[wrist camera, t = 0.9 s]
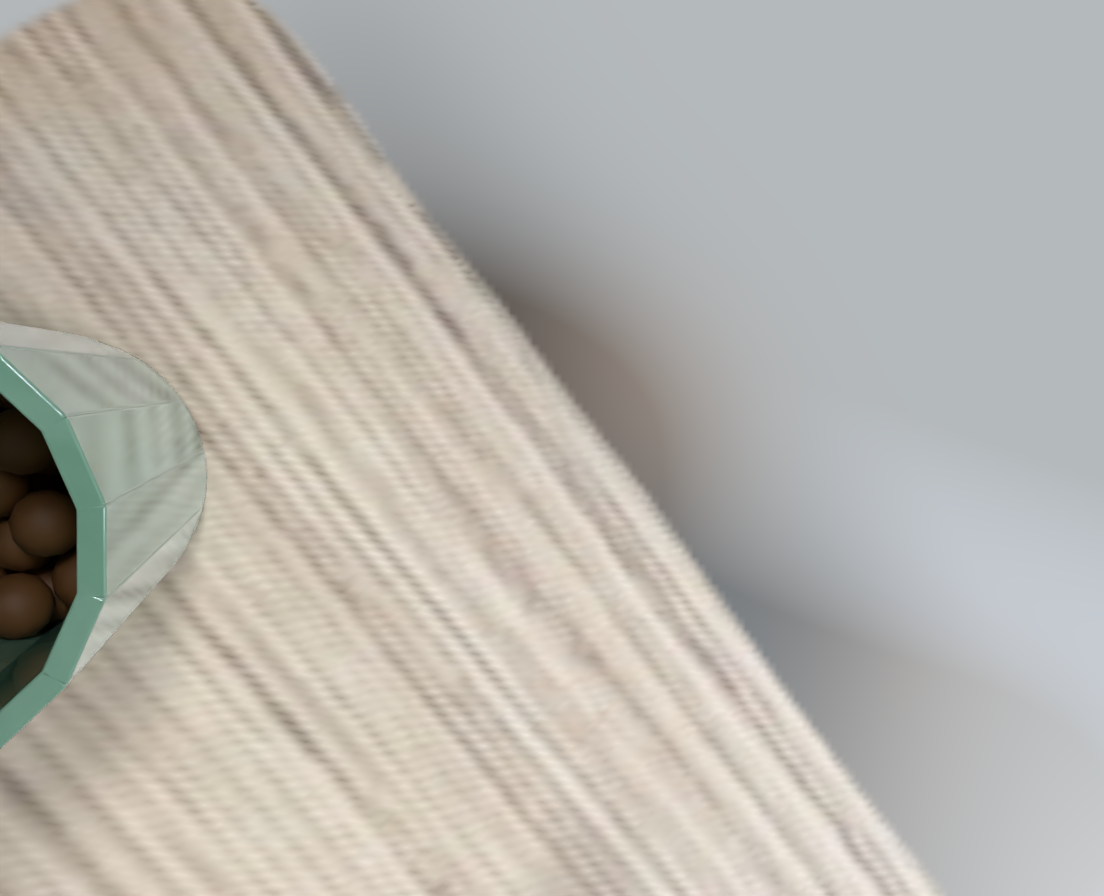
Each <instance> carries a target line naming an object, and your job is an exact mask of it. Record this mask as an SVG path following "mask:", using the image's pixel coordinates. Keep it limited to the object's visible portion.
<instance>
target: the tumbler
mask: <svg viewBox="0 0 1104 896" xmlns="http://www.w3.org/2000/svg"><path fill="white" fill-rule="evenodd" d="M0 394H1V395H2V396H3V397H5V398H6V399H7V400H8V401H9V402H10V403H11V404H12V405H13V406H14V407H15V408H16V409H17V410H18V411H20V412H21V413H22V414H23V415H24V416H25V417H26V418H27V419H28V420H29V421H30V422H31V423H32V424H33V425H35V426H36V427H37V428H38V429H39V430H40V431H41V433H42V435H43V437H44V439H45V442H46V444H47V446H48V448H49V450H50V453H51V455H52V457H53V459H54V461H55V464H56V466H57V468H58V470H59V473H60V475H61V477H62V479H63V481H64V484H65V486H66V488H67V490H68V493H69V495H70V497H71V499H72V501H73V504H74V506H75V508H76V566H77V593H76V596H75V598H74V600H73V602H72V605H71V607H70V609H69V611H68V613H67V616H66V618H65V620H60V621H55V622H49V623H48V624H47V625H46V626H45V627H43V628H42V629H41V630H40V631H39V632H38V633H37V634H35V635H34V636H30V637H25V638H20V639H15V640H14V639H9V638H4V637H0V749H1V748H2V747H3V746H4V745H5V744H6V743H7V742H8V741H9V740H10V739H11V738H13V737H14V736H15V735H16V734H17V733H18V732H19V731H20V730H21V729H22V728H23V727H24V726H25V725H26V724H27V723H28V722H29V721H31V720H32V719H33V718H34V717H35V716H36V715H37V714H38V713H39V712H40V711H41V710H42V709H43V708H44V707H45V706H46V705H48V704H49V703H50V702H51V701H52V700H53V699H54V698H55V697H56V696H57V695H58V694H59V693H60V692H61V691H62V690H63V689H64V688H65V687H66V686H67V685H68V684H69V683H70V682H71V681H72V680H73V678H74V677H75V676H76V675H77V674H78V673H79V672H80V671H81V669H82V668H83V667H84V666H85V665H86V664H87V663H88V662H89V660H90V659H91V658H92V657H93V656H94V655H95V654H96V653H97V651H98V650H99V649H100V648H101V647H102V646H103V645H104V643H105V642H106V641H107V640H108V639H109V638H110V637H111V636H112V634H113V633H114V632H115V631H116V630H117V629H118V628H119V627H120V625H121V624H122V623H123V622H124V621H125V620H126V619H127V618H128V616H129V615H130V614H131V613H132V612H133V611H134V610H135V609H136V607H137V606H138V605H139V604H140V603H141V602H142V601H143V599H144V598H145V597H146V596H147V595H148V594H149V593H150V592H151V590H152V589H153V588H154V587H155V586H156V585H157V584H158V583H159V581H160V580H161V579H162V578H163V577H164V576H165V575H166V574H167V572H168V571H169V570H170V569H171V568H172V567H173V566H174V565H175V563H176V562H177V561H178V560H179V559H180V557H181V556H182V554H183V552H184V550H185V547H186V546H187V544H188V542H189V540H190V538H191V537H192V535H193V533H194V531H195V529H196V526H197V524H198V521H199V518H200V515H201V513H202V509H203V505H204V500H205V495H206V482H207V470H206V458H205V453H204V448H203V443H202V440H201V437H200V434H199V431H198V428H197V425H196V423H195V421H194V419H193V417H192V415H191V413H190V411H189V410H188V408H187V406H186V405H185V404H184V402H183V401H182V399H181V398H180V396H179V395H178V393H177V392H176V391H175V390H174V389H173V388H172V387H171V386H170V385H169V383H168V382H167V381H166V380H165V379H164V378H163V377H161V376H160V375H159V374H158V373H157V372H156V371H154V370H153V369H152V368H151V367H150V366H148V365H146V364H145V363H143V362H142V361H141V360H139V359H138V358H136V357H134V356H132V355H130V354H128V353H126V352H124V351H122V350H120V349H118V348H116V347H113V346H110V345H107V344H104V343H102V342H99V341H96V340H93V339H91V338H89V337H86V336H82V335H76V334H70V333H64V332H58V331H52V330H46V329H40V328H34V327H28V326H22V325H16V324H10V323H4V322H0ZM3 410H6V409H5V408H3Z"/></svg>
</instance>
